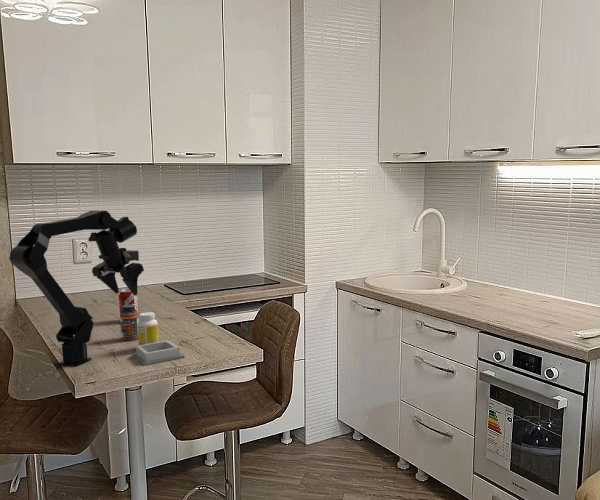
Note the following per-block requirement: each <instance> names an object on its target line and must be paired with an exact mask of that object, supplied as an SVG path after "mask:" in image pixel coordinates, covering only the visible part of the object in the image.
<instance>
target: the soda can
mask: <svg viewBox="0 0 600 500" xmlns="http://www.w3.org/2000/svg"><path fill="white" fill-rule="evenodd" d="M118 302H119V303H118V305H119V306H118V307H119V315H120V314H121V312H123V310H122V309H123V308H122V307H123V306H124V305H135V310H136V311H137V312H138V317H139V314H140V313H139V311H140V310H139V298H138V294H137V295H133V293H132V292H131V291H130V290H129V288H125V289H120V290H119V294H118Z"/></svg>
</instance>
